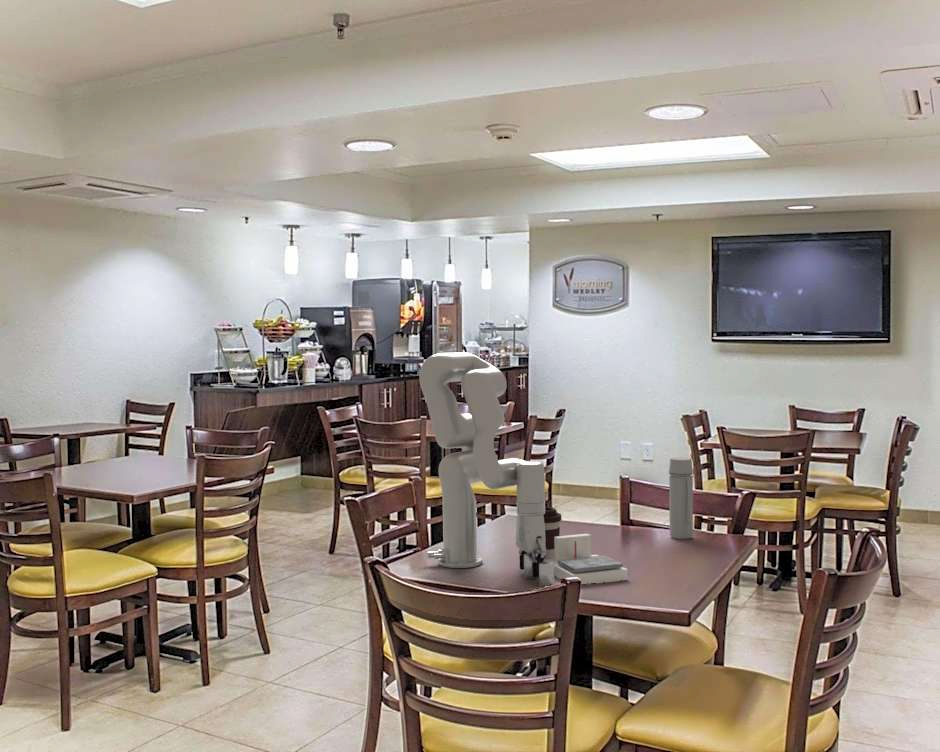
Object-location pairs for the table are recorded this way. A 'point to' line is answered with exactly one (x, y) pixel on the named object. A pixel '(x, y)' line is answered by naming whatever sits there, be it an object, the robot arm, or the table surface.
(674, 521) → the water bottle
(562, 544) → the scale body
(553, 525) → the coffee cup
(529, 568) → the glass jar
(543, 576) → the spacer
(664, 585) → the table surface
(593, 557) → the grey flat plate
